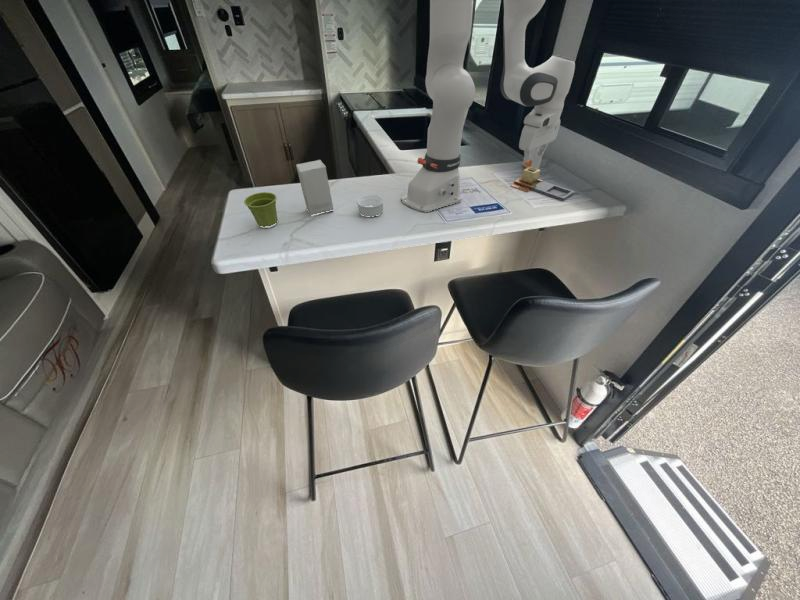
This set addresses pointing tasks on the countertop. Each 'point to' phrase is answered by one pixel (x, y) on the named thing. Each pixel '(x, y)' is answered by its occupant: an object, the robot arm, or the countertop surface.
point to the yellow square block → (530, 176)
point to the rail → (542, 188)
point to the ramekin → (370, 200)
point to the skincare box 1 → (315, 186)
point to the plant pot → (263, 208)
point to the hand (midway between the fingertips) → (533, 158)
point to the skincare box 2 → (533, 159)
